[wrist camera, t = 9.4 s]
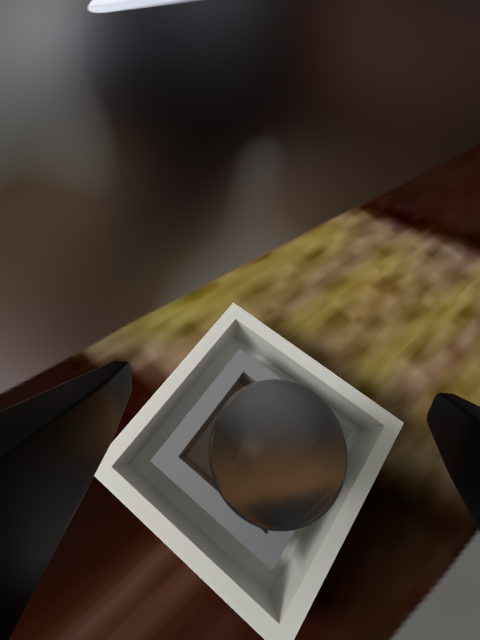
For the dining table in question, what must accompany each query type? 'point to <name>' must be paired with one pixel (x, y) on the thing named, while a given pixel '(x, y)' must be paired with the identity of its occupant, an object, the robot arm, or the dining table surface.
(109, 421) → the robot arm
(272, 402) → the plug
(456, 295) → the dining table surface
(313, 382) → the socket box
